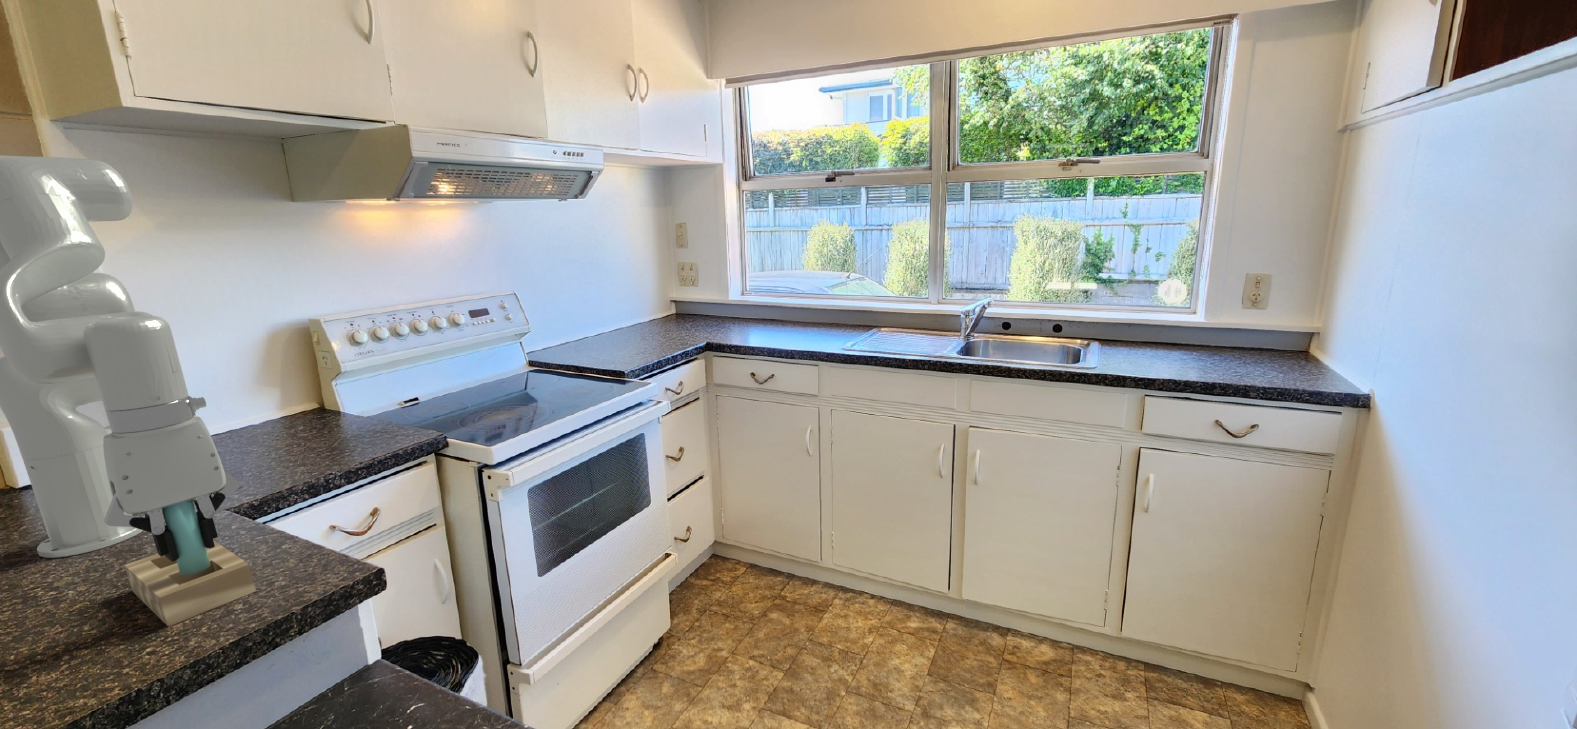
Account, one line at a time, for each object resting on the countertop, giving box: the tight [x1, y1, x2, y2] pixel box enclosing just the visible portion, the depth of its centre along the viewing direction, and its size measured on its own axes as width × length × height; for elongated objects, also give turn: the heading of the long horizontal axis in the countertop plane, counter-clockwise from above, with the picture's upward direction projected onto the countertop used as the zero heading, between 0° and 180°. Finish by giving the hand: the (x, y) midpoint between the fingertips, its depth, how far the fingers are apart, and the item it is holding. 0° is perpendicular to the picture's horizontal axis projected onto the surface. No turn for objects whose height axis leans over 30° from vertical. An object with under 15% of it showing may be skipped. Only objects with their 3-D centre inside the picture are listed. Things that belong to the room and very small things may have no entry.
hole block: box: [123, 539, 257, 627], centre depth 89 cm, size 16×9×4 cm, turn 56°
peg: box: [162, 500, 210, 575], centre depth 85 cm, size 3×3×10 cm
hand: (190, 550), depth 85 cm, fingers closed on peg, 3 cm apart
